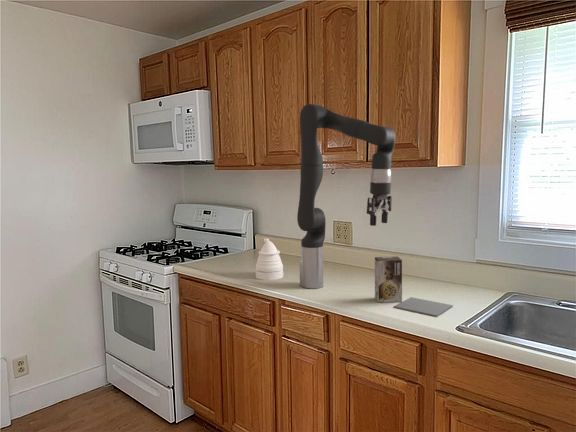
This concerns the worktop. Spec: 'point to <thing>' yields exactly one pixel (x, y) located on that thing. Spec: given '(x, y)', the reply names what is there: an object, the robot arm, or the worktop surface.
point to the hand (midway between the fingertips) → (378, 224)
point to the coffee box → (388, 279)
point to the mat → (423, 306)
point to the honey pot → (269, 262)
